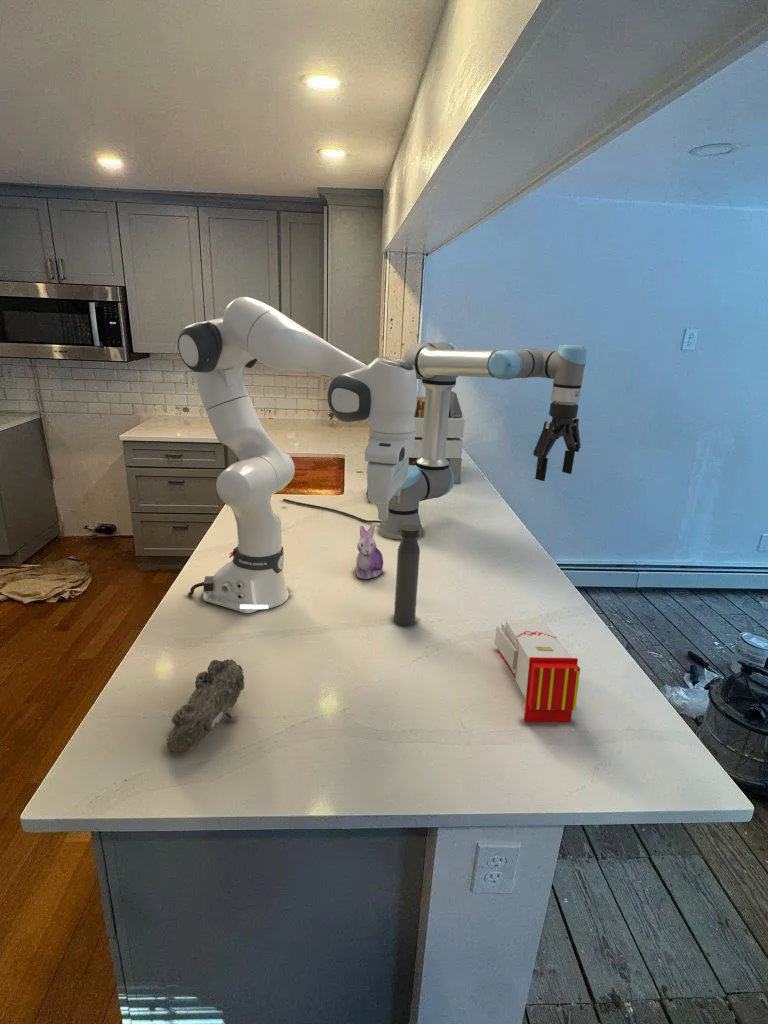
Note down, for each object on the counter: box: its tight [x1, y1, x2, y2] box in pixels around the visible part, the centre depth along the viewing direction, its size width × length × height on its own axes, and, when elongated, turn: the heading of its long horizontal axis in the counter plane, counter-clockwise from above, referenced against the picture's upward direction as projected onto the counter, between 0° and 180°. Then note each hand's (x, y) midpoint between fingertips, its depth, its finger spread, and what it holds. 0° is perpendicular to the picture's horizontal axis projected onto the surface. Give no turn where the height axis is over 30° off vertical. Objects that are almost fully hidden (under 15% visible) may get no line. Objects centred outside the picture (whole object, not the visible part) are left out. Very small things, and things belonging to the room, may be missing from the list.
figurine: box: [355, 524, 384, 580], centre depth 167 cm, size 9×10×15 cm
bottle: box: [393, 537, 421, 627], centre depth 140 cm, size 5×5×25 cm
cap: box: [401, 524, 420, 539], centre depth 136 cm, size 4×4×2 cm
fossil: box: [166, 658, 245, 754], centre depth 106 cm, size 22×10×15 cm
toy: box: [494, 619, 581, 724], centre depth 121 cm, size 12×13×30 cm
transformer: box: [409, 390, 465, 484], centre depth 268 cm, size 34×33×41 cm
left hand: (389, 511), depth 114 cm, fingers open, 8 cm apart
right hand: (553, 476), depth 165 cm, fingers open, 13 cm apart
